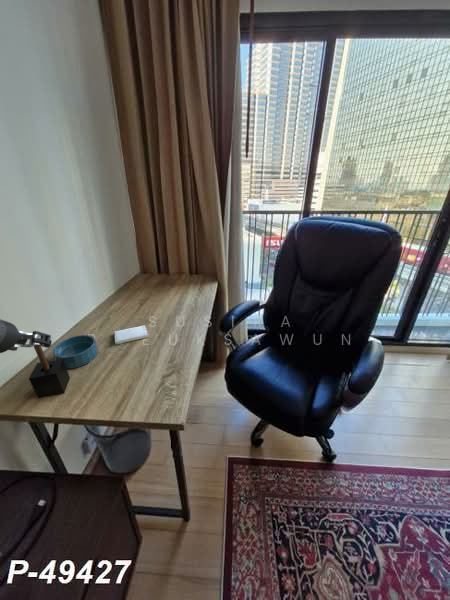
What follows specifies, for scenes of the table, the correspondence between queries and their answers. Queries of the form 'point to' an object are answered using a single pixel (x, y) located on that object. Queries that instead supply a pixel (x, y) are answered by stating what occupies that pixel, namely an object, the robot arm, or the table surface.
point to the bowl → (76, 350)
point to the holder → (50, 379)
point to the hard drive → (130, 334)
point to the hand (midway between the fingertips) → (32, 345)
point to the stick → (42, 358)
